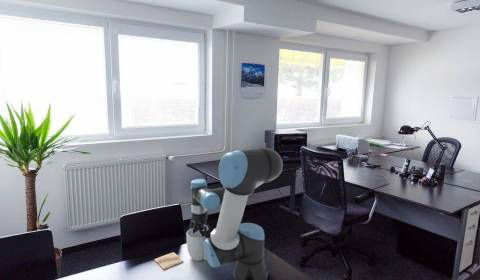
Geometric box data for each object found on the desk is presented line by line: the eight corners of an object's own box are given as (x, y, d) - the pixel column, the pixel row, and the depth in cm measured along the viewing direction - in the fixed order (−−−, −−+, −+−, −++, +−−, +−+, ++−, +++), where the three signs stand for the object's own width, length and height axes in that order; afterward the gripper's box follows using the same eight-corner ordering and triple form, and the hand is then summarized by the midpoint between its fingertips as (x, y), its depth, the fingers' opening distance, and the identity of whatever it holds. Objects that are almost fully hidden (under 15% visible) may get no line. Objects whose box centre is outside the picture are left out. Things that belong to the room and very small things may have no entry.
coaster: (183, 262, 142) (183, 260, 142) (163, 270, 136) (163, 268, 136) (173, 253, 150) (173, 251, 150) (154, 260, 144) (154, 259, 144)
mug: (208, 246, 157) (208, 222, 154) (220, 255, 148) (220, 230, 146) (183, 256, 147) (182, 231, 145) (194, 266, 139) (193, 240, 137)
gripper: (219, 217, 136) (220, 261, 140) (193, 202, 154) (194, 241, 158) (206, 221, 132) (207, 267, 136) (180, 205, 150) (182, 246, 153)
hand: (200, 253), depth 147 cm, fingers closed on mug, 11 cm apart
